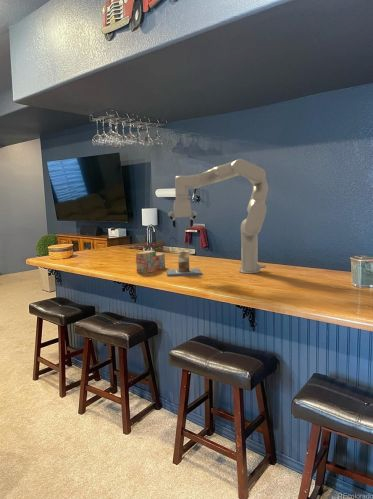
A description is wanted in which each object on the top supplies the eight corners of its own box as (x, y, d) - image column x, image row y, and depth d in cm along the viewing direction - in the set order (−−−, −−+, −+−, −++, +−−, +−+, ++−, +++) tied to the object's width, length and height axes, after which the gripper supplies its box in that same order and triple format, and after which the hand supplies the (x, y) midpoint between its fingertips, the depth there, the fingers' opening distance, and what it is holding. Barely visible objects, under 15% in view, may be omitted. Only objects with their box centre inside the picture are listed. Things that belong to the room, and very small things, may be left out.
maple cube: (188, 260, 224) (187, 250, 223) (189, 261, 218) (188, 251, 217) (178, 260, 224) (177, 250, 223) (178, 262, 218) (178, 252, 217)
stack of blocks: (157, 267, 245) (156, 248, 243) (165, 267, 241) (164, 249, 240) (136, 272, 227) (135, 252, 225) (144, 273, 223) (144, 253, 222)
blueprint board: (199, 270, 230) (198, 268, 229) (202, 274, 216) (202, 272, 216) (166, 271, 228) (166, 269, 228) (167, 276, 214) (167, 274, 214)
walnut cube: (188, 270, 225) (188, 260, 224) (189, 272, 219) (189, 261, 218) (178, 270, 224) (178, 260, 224) (179, 272, 218) (178, 262, 218)
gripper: (196, 197, 220) (196, 226, 223) (166, 198, 219) (167, 227, 221) (197, 197, 213) (198, 227, 215) (167, 198, 211) (168, 228, 214)
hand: (183, 227), depth 218 cm, fingers open, 9 cm apart
